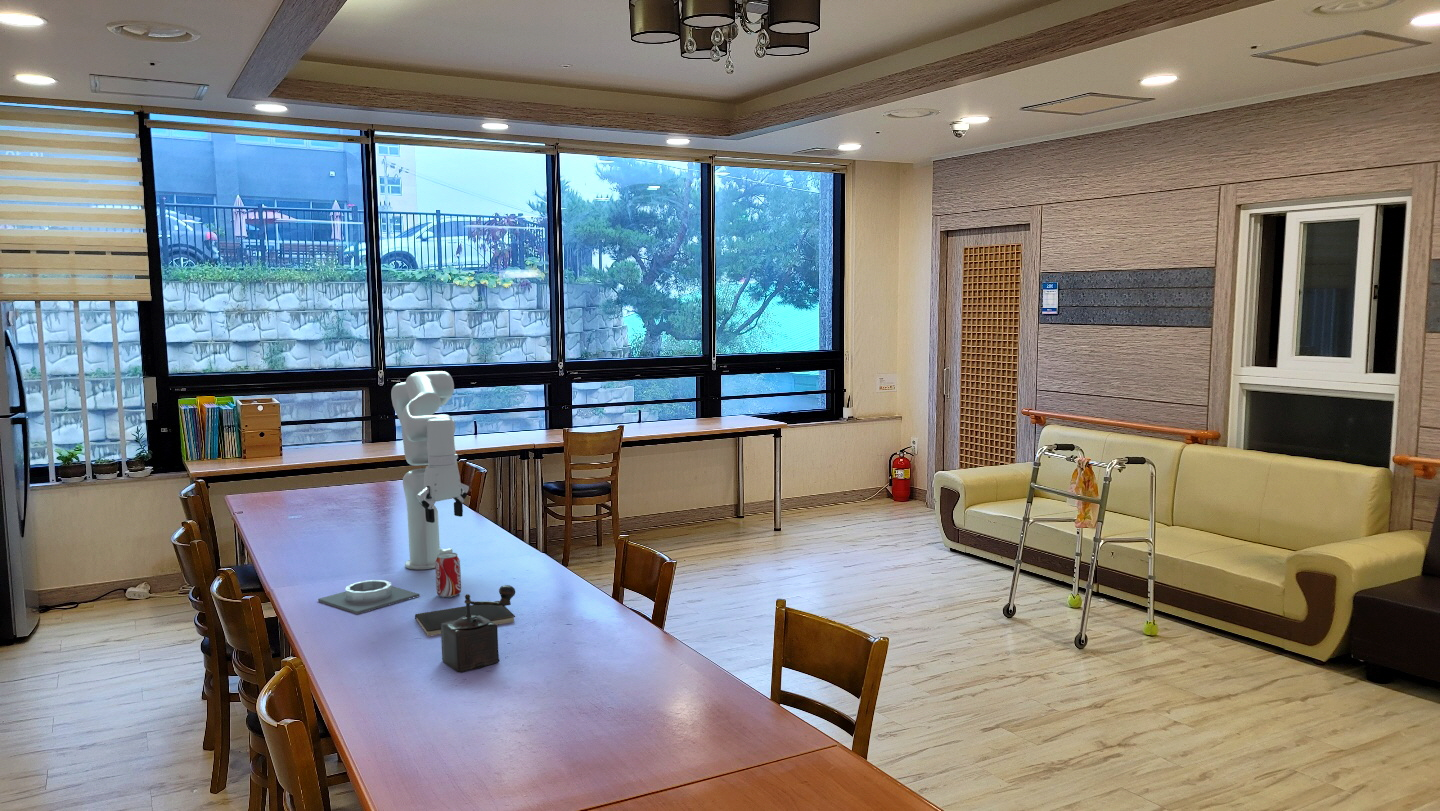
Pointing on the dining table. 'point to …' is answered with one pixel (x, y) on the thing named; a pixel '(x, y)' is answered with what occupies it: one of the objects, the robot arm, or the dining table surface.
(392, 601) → the mat
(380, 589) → the ring collar
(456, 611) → the hardcover book
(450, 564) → the soda can
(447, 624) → the manual coffee grinder
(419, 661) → the dining table surface
